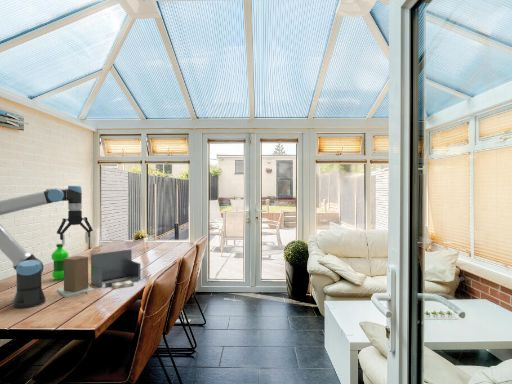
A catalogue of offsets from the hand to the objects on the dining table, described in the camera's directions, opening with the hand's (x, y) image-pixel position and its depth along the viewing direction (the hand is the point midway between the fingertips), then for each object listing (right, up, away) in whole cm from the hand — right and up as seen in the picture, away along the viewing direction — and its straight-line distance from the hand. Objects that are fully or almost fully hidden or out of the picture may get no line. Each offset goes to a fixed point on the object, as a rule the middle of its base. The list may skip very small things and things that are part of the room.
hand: (75, 243), depth 211 cm
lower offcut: (+27, -30, +7) cm, 41 cm away
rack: (+19, -30, +19) cm, 40 cm away
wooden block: (0, -29, 0) cm, 29 cm away
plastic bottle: (-27, -30, +30) cm, 50 cm away
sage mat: (0, -30, 0) cm, 30 cm away
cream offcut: (+27, -29, +7) cm, 40 cm away
